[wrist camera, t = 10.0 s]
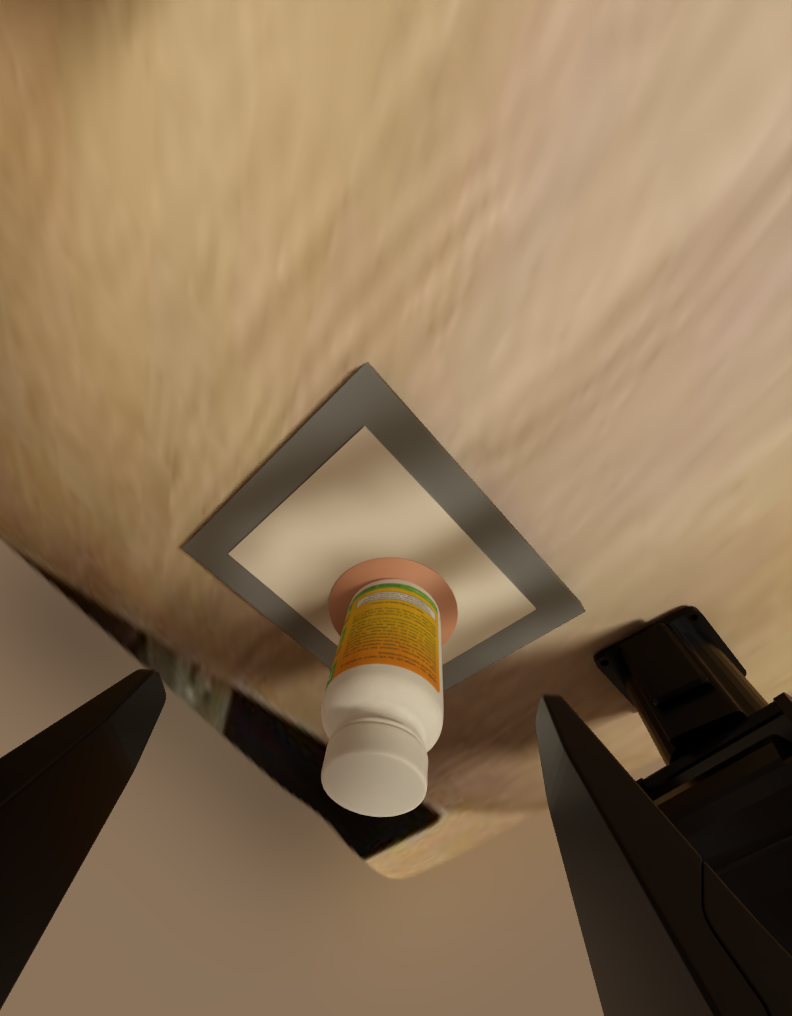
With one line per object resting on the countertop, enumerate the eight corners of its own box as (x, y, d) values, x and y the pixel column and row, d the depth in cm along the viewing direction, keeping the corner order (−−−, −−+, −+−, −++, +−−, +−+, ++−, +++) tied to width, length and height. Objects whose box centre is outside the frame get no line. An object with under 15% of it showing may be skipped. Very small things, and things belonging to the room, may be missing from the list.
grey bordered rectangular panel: (580, 602, 24) (587, 614, 23) (394, 709, 29) (392, 723, 28) (367, 361, 19) (364, 364, 18) (189, 541, 24) (179, 551, 23)
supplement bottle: (338, 581, 23) (281, 743, 14) (431, 569, 22) (432, 732, 13) (361, 652, 25) (323, 831, 16) (446, 643, 24) (456, 827, 15)
